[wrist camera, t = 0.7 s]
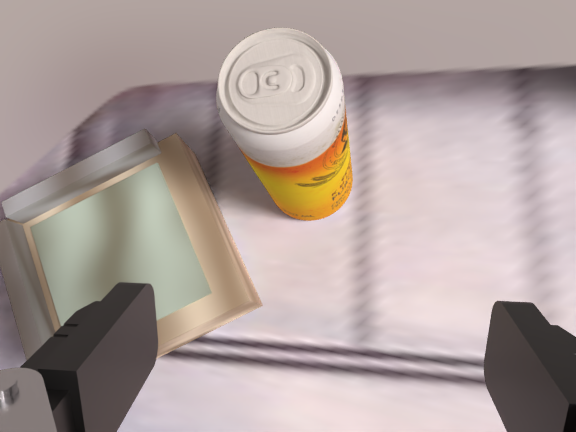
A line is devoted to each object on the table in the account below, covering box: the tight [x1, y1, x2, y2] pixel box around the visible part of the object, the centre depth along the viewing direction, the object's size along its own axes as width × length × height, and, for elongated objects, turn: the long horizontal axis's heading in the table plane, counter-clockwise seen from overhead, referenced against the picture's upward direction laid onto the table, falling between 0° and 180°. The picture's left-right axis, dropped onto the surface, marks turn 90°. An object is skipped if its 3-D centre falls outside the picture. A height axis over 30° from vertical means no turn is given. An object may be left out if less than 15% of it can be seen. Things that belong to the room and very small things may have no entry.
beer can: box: [216, 28, 353, 221], centre depth 30 cm, size 6×6×15 cm
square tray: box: [0, 129, 263, 360], centre depth 34 cm, size 14×13×6 cm
